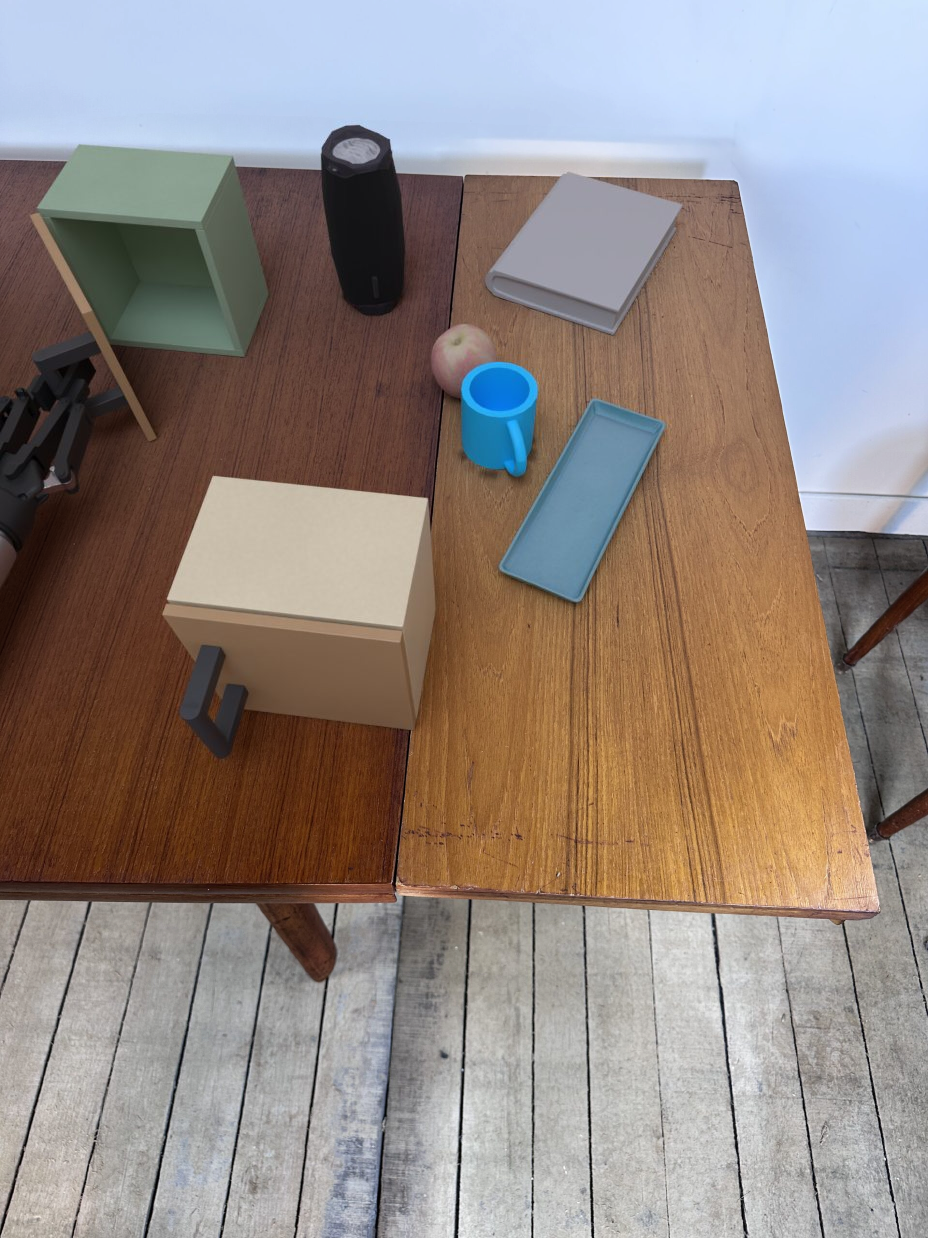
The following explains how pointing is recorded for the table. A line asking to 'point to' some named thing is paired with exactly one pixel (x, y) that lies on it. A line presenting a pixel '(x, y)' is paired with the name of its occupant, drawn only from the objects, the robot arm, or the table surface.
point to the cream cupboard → (314, 559)
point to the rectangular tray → (582, 500)
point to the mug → (498, 416)
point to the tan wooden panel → (85, 348)
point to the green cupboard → (159, 247)
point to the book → (585, 252)
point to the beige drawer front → (288, 671)
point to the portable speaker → (364, 217)
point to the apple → (460, 356)
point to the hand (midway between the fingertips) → (76, 359)
